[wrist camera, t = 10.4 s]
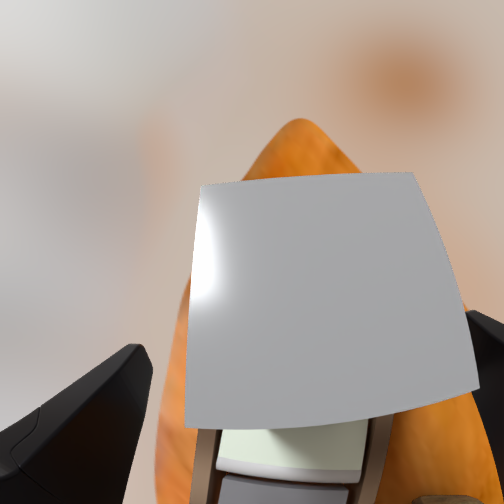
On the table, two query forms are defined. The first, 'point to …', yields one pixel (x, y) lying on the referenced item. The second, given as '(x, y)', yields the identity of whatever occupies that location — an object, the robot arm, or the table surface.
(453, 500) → the stone block
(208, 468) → the frame
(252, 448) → the trapdoor flap
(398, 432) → the table surface
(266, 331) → the granite pillar
